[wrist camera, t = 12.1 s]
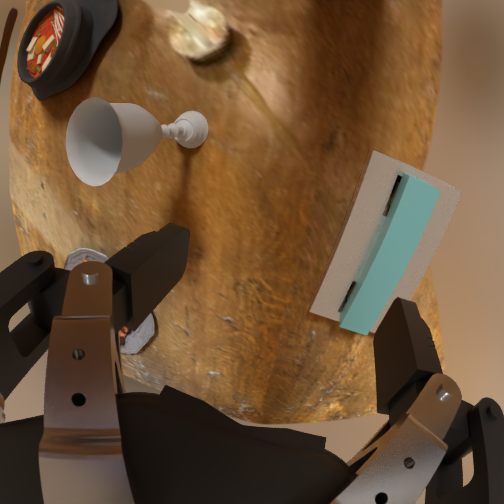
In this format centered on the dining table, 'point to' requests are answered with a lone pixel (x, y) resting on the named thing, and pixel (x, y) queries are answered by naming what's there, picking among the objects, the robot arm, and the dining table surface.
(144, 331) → the food plate
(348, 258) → the plate
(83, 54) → the casserole
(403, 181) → the strip bar
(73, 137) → the chalice
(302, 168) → the dining table surface
